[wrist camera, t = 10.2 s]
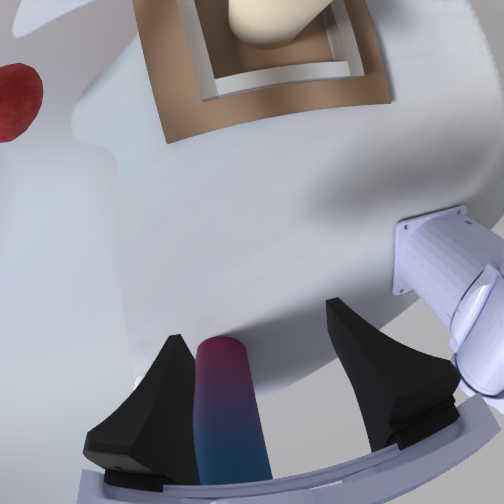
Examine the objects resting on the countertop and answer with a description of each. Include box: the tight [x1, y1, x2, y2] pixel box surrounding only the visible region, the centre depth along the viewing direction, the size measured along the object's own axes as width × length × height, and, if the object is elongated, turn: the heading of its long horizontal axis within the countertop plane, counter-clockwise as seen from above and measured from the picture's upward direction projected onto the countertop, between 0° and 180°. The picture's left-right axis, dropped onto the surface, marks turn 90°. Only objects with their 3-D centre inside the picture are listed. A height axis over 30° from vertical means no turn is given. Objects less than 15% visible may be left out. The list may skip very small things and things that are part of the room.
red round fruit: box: [0, 63, 43, 143], centre depth 10 cm, size 6×6×8 cm
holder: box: [133, 0, 391, 144], centre depth 12 cm, size 16×14×3 cm
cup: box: [193, 337, 273, 501], centre depth 20 cm, size 7×7×15 cm
